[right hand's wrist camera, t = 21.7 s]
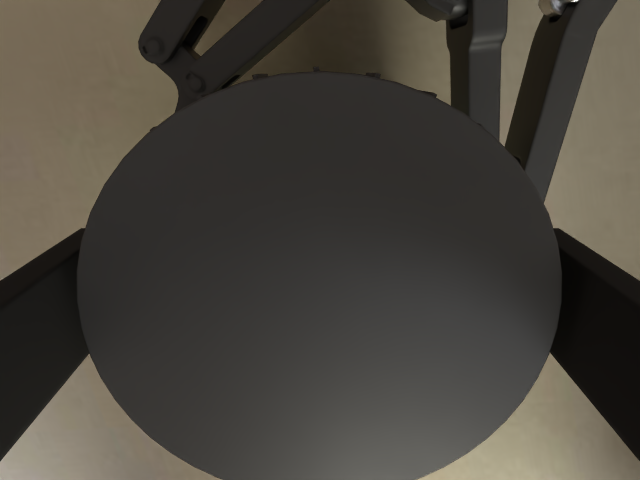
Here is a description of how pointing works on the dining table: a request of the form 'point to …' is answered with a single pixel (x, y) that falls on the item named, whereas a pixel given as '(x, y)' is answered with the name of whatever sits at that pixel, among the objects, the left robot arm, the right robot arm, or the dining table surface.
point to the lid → (319, 281)
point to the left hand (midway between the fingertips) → (285, 282)
